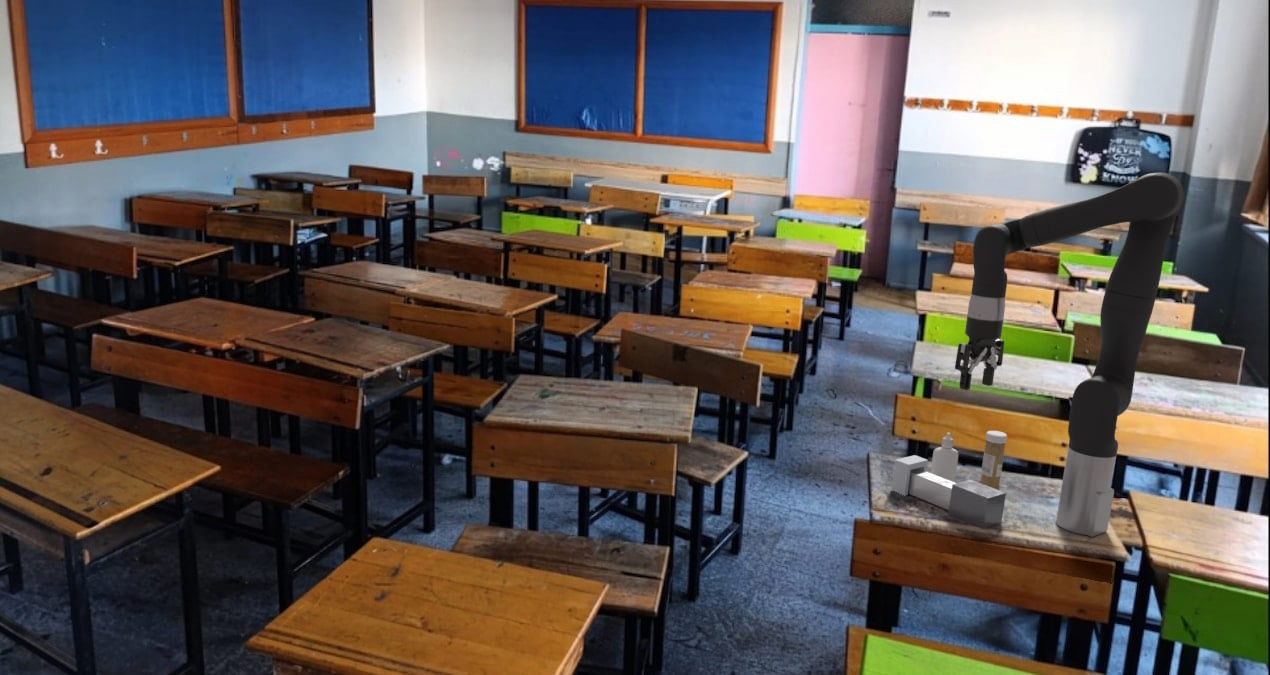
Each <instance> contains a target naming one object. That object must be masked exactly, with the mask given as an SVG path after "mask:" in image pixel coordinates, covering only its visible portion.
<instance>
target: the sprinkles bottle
mask: <svg viewBox="0 0 1270 675" xmlns="http://www.w3.org/2000/svg"><path fill="white" fill-rule="evenodd" d="M1007 439H1008V434H1006V432H1002V431H1000V430H999V431H998V430H988V431H987V432H986V434H985V446H984V452H983V457H982V464H981V465H982V466H981V474H980V475H981V476H980V482H979V483H981V484H983V485H986V486H989V487H991V488H994V489H997V490H999V489H1000V483H1001V477H1002V470H1003V462H1004V454H1005V453H1004V452H1005V447H1006V443H1007V442H1008V440H1007Z"/></svg>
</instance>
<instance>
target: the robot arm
mask: <svg viewBox="0 0 1270 675" xmlns="http://www.w3.org/2000/svg"><path fill="white" fill-rule="evenodd" d="M1184 193H1185V192H1184V187H1183V186H1182V184H1181V181H1179V179H1178V178H1176V177H1175V176H1174V175H1172V174H1169V173H1167V172H1152V173H1147V174H1144V175H1142V176H1140V177H1138V178H1137V179H1136V180H1134V181H1131V182H1129V183H1127V184H1125V185H1123V186H1121V187H1118V188H1116V189H1114V190H1112V191H1109V192H1106V193H1104V194H1101V195H1097V196H1094V197H1091V198H1087V199H1085V200H1084V199H1083V200H1079V201H1075V202H1074V201H1073V202H1071V203H1066V204H1062V205H1058V206H1054V207H1051V208H1046V209H1044V210H1039V211H1036V212H1034V213H1031V214H1028V215H1025V216H1023V217H1022V218H1017V219H1014V220H1009V221H1006V222H1002V223H997V224H991V225H986V226H984V227H983V228H981V229H980V230H979V231H978V232H977V234H976V235H975V238H974V242H973V249H972V250H973V251H972V257H973V273H974V274H973V278H972V286H971V293H970V298H969V301H968V306H967V307H968V308H967V315H966V324H965V330H964V334H965V335H966V336H967V337H968V341H967V343H963V342H959V343H958V346H957V352H956V358H955V362H954V364H955V365H954V370H956V371H959V372H960V378H959V388H960V390H963V391H964V390H965V391H968V390H970V389H971V384H972V377H973V376H972V375H973V374H972V373H973V371H974V369H975V367H977V366H978V365H980V363H982V362H983V365H984V368H983V371H982V372H983V373H982V380H981V382H982V385H984V386H987V387H990V386H991V387H992V386H993V384H994V383H993V382H994V378H995V371H996V370H997V368H998V367H1002V365H1003V360H1004V359H1003V358H1004V349H1005V341H1004V340H1003V339H1001V337H1002V333H1003V332H1002V331H1003V325H1004V324H1003V323H1004V319H1005V318H1004V317H1005V310H1006V309H1005V308H1006V296H1007V295H1006V294H1007V293H1006V292H1007V287H1008V273H1007V272H1006V270H1005V267H1006V256H1007V255H1011V254H1014V253H1018V252H1021V251H1023V250H1026V249H1029V248H1036V247H1040V246H1045V245H1049V244H1052V243H1056V242H1060V241H1063V240H1066V239H1070V238H1073V237H1076V236H1079V235H1081V234H1084V233H1087V232H1090V231H1095V230H1097V229H1101V228H1104V227H1108V226H1112V225H1116V224H1117V225H1119V224H1123V223H1124V224H1125V223H1129V224H1128V225H1129V226H1128V231H1127V234H1126V237H1125V238H1126V239H1125V242H1124V244H1123V245H1122V246H1123V247H1122V249H1121V251H1120V253H1119V255H1118V257H1117V259H1116V261H1115V264H1114V265H1113V268H1112V271H1111V273H1110V275H1109V278H1108V281H1107V284H1106V288H1105V289H1104V290H1105V291H1104V296H1103V299H1102V303H1101V308H1100V320H1099V322H1100V333H1101V334H1100V335H1101V337H1100V338H1101V343H1100V344H1101V345H1100V346H1101V347H1100V351H1099V356H1098V360H1097V362H1096V365H1095V368H1094V371H1093V374H1092V376H1091V377H1090V378H1086V379H1085V380H1083V381H1081V382H1080V383H1079V384H1078V385H1077V386H1076V388H1075V389H1074V392H1073V394H1072V398H1071V403H1070V404H1071V405H1070V409H1069V410H1070V412H1069V419H1068V426H1067V430H1068V431H1067V433H1068V438H1069V442H1068V449H1067V452H1066V460H1065V465H1064V466H1065V467H1064V470H1063V476H1062V483H1061V489H1060V495H1059V499H1058V500H1059V501H1058V506H1057V507H1058V508H1057V511H1056V518H1055V519H1056V520H1055V523H1056V524H1057V525H1058V526H1059V527H1061V529H1063V530H1067V531H1068V532H1071V533H1074V534H1075V533H1076V534H1078V535H1085V536H1089V537H1092V538H1093V537H1096V536H1099V535H1101V534H1103V533H1106V532H1108V528H1109V522H1110V517H1111V511H1112V505H1113V500H1114V495H1115V489H1114V488H1112V487H1111V486H1112V480H1113V475H1114V470H1115V464H1116V459H1117V454H1118V449H1119V442H1118V440H1117V439H1116V436H1115V435H1116V428H1117V422H1118V417H1119V416H1120V415H1122V414H1124V413H1125V411H1126V410H1127V409H1128V407H1129V406H1130V404H1131V401H1132V396H1133V390H1134V382H1135V375H1136V369H1137V363H1138V358H1139V355H1140V352H1141V348H1142V345H1143V343H1144V340H1145V336H1146V333H1147V329H1148V326H1149V323H1150V320H1151V317H1152V313H1153V311H1154V305H1155V302H1156V299H1157V298H1156V297H1157V295H1158V290H1159V285H1160V280H1161V276H1162V271H1163V265H1164V263H1163V262H1164V257H1165V251H1166V248H1167V242H1168V239H1169V237H1170V234H1171V231H1172V229H1173V226H1174V224H1175V220H1176V218H1177V216H1178V213H1179V211H1180V209H1181V207H1182V204H1183V201H1184V197H1185V195H1184Z"/></svg>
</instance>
